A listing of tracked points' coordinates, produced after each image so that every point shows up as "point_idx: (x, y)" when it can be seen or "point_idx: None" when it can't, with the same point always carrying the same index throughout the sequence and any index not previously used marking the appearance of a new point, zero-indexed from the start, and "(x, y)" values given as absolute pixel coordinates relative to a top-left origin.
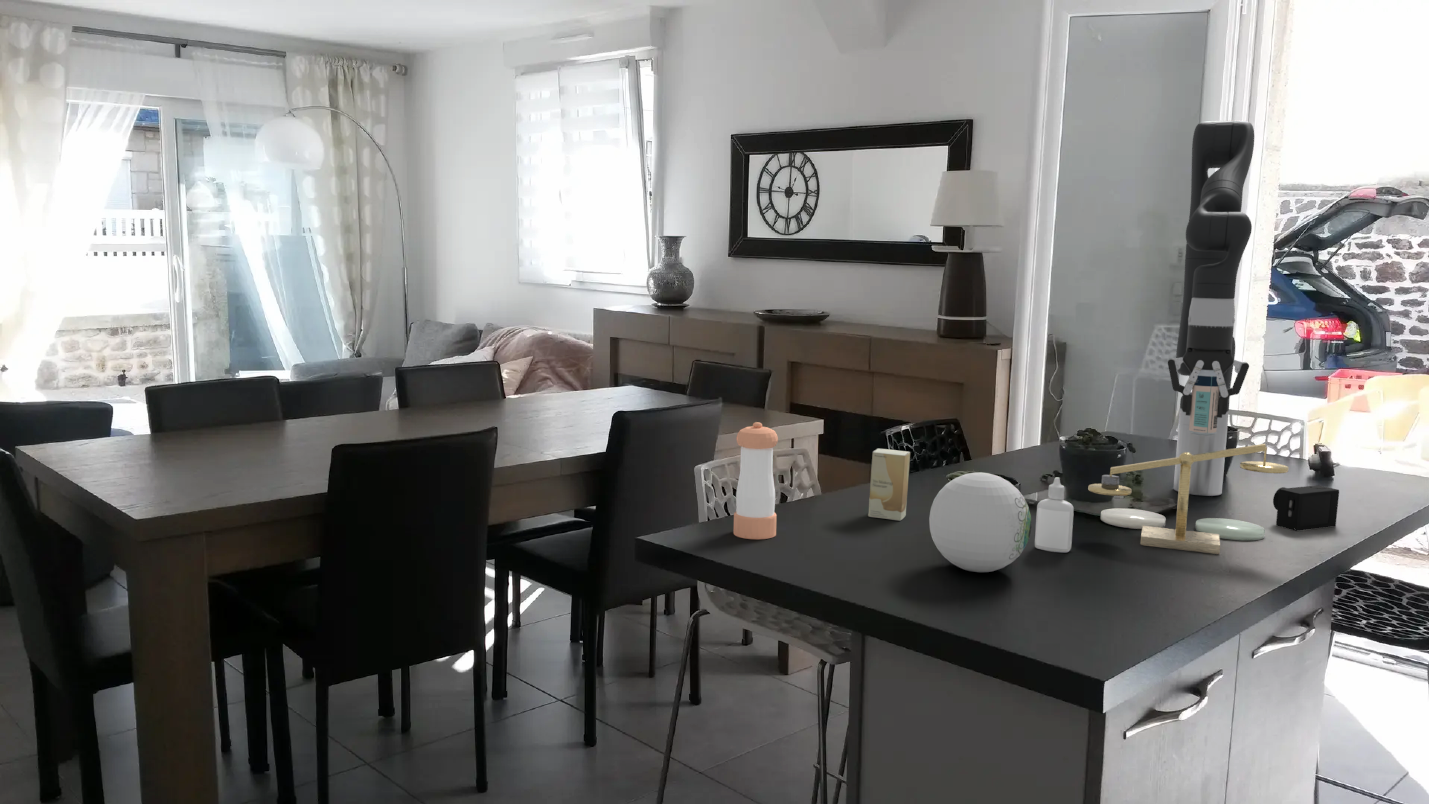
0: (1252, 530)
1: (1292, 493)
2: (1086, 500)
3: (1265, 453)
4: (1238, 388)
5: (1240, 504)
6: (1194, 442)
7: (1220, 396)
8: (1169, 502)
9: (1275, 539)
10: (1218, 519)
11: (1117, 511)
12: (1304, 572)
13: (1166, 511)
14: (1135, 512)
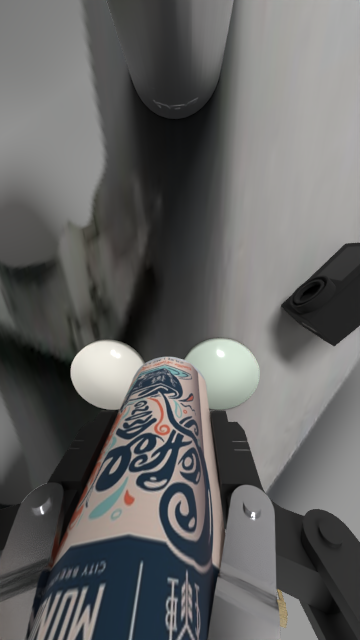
0: (243, 388)
1: (324, 337)
2: (28, 274)
3: (281, 597)
4: (342, 620)
5: (248, 162)
6: (144, 4)
7: (226, 514)
8: (137, 217)
9: (267, 380)
10: (207, 350)
11: (87, 366)
12: (272, 483)
13: (140, 291)
14: (108, 361)
